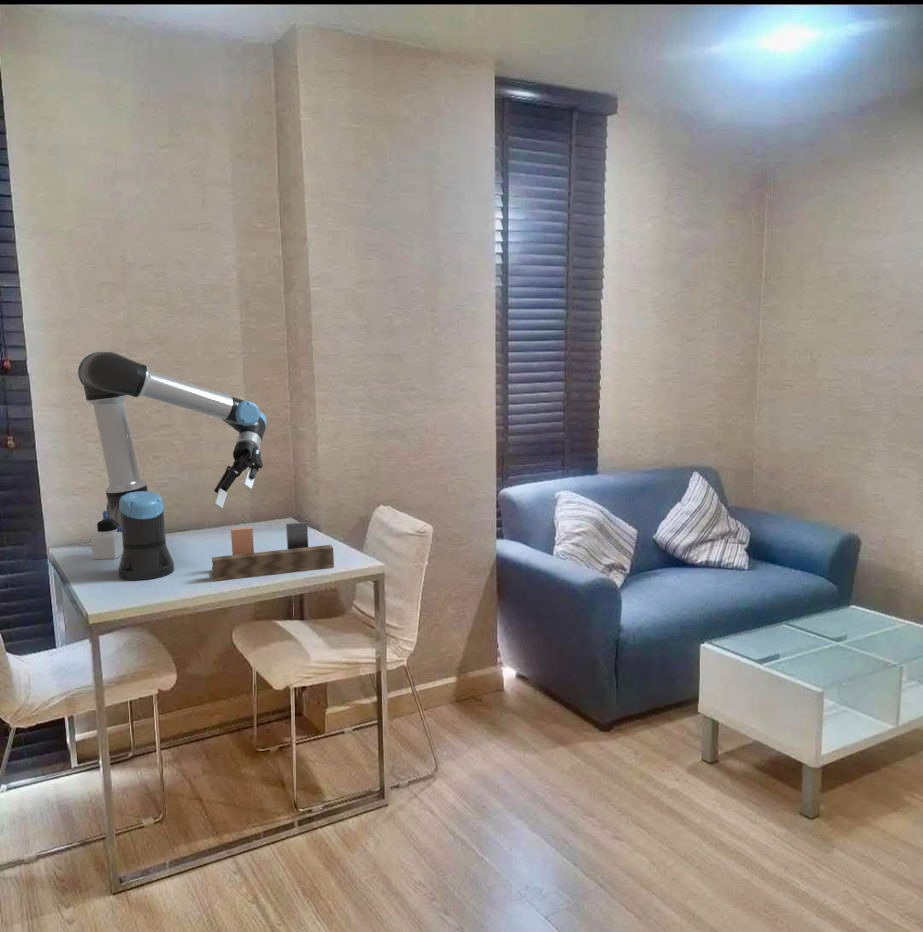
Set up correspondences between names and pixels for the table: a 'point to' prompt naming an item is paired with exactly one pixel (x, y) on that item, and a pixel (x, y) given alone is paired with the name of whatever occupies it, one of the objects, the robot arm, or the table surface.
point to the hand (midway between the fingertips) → (232, 496)
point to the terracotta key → (242, 541)
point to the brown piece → (272, 562)
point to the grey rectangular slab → (297, 535)
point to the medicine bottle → (106, 540)
